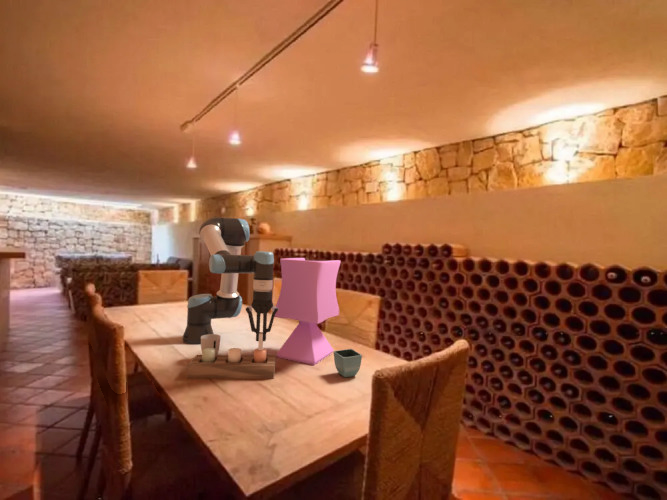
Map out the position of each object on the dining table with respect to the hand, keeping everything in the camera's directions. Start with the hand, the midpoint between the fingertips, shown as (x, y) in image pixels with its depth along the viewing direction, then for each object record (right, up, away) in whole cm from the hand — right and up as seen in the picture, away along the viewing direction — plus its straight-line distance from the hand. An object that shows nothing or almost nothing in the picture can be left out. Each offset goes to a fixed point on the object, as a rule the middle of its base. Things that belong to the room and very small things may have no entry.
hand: (260, 349), depth 135 cm
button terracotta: (0, -5, 0) cm, 5 cm away
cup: (-25, -8, +13) cm, 29 cm away
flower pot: (+34, -11, +2) cm, 36 cm away
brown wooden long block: (-10, -9, -1) cm, 14 cm away
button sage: (-20, -4, -2) cm, 21 cm away
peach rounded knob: (-10, -5, -1) cm, 11 cm away
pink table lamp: (+16, -10, +24) cm, 31 cm away
